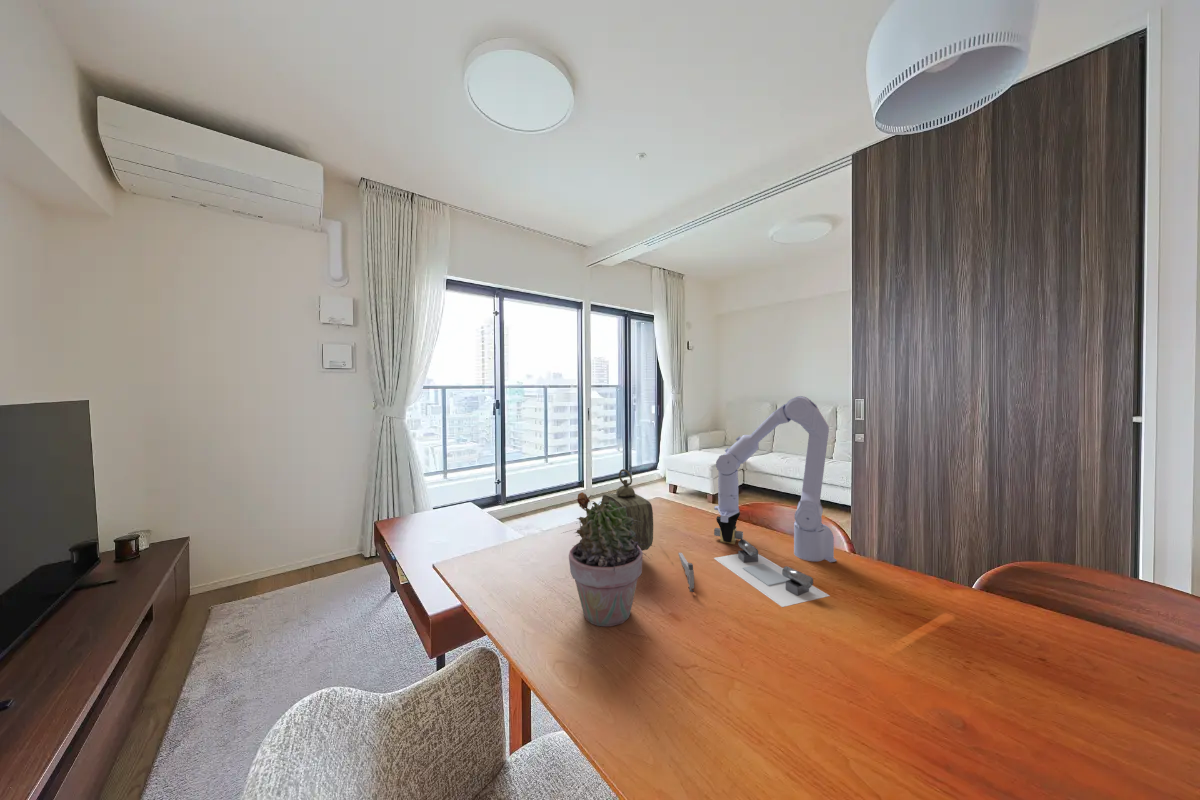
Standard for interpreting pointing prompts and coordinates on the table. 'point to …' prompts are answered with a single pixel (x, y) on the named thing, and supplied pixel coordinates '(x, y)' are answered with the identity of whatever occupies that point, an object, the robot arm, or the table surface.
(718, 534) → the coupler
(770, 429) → the robot arm
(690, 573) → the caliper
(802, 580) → the shaft
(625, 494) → the tabletop clock
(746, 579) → the bench
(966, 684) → the table surface
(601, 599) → the potted plant
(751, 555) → the shaft
